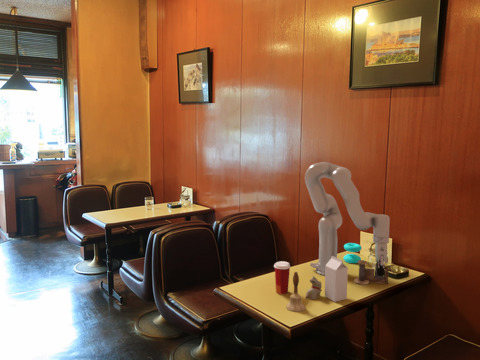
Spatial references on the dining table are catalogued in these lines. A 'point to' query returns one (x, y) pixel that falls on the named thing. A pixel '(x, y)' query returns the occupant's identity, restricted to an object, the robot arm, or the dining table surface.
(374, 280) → the notch board
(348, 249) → the donuts
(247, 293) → the dining table surface
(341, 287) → the milk carton
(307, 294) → the chocolate bunny
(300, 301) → the hand bell
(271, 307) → the dining table surface
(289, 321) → the dining table surface
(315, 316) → the dining table surface
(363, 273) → the bobbin
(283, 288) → the paper cup
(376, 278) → the dark upright block
